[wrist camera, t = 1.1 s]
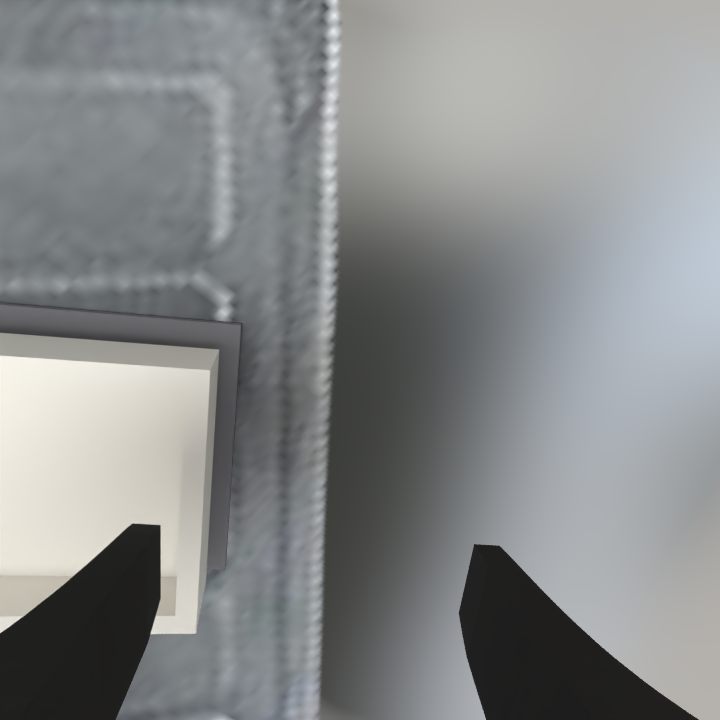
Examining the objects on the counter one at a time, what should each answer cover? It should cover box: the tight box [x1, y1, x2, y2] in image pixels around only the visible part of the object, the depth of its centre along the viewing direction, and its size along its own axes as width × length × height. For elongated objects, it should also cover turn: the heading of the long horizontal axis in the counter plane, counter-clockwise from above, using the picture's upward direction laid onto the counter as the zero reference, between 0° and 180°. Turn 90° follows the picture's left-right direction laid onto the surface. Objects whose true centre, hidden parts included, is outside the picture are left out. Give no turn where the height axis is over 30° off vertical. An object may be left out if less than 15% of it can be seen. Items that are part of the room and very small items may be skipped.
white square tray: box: [0, 333, 219, 634], centre depth 22 cm, size 11×11×5 cm
